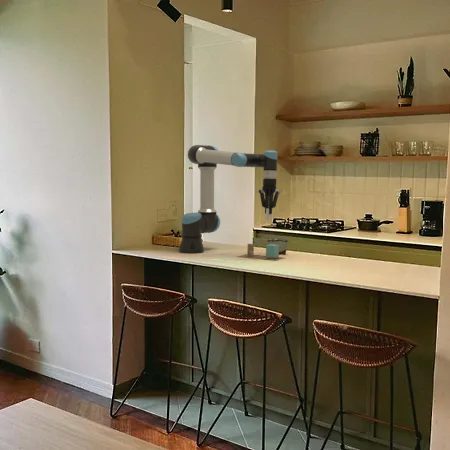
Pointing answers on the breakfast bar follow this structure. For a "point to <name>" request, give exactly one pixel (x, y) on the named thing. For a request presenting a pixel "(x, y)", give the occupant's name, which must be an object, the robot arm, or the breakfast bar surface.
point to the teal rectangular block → (272, 250)
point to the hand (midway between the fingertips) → (268, 219)
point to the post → (250, 250)
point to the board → (261, 257)
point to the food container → (281, 242)
